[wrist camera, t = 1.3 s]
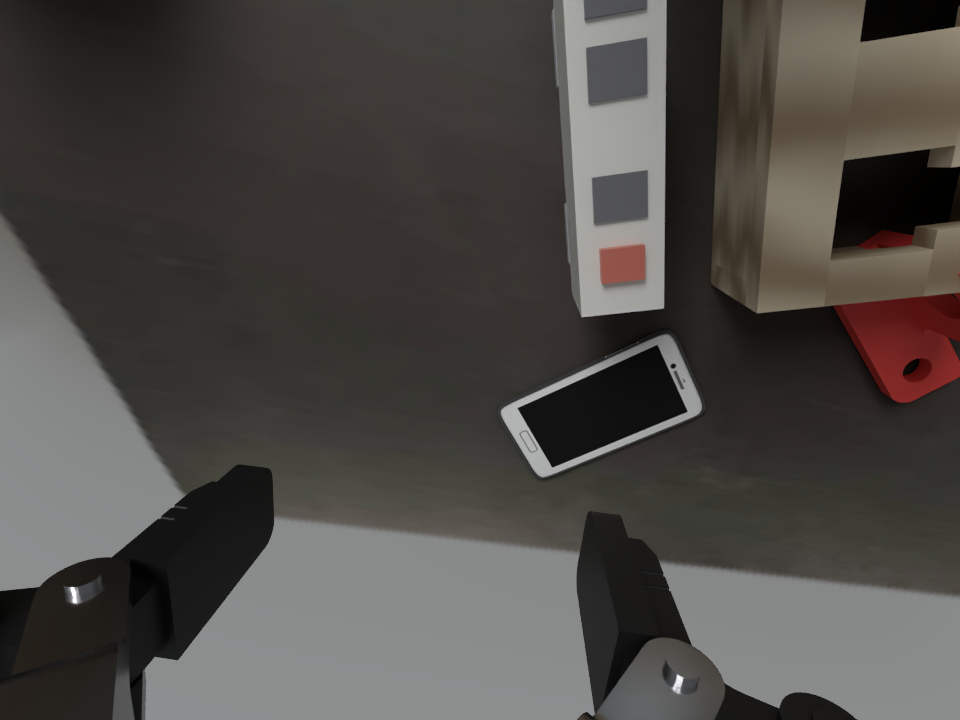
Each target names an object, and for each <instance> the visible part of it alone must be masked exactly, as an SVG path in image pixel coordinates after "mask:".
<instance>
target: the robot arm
mask: <svg viewBox="0 0 960 720" xmlns="http://www.w3.org/2000/svg"><path fill="white" fill-rule="evenodd" d="M273 526H274V506H273V480H272V473H271V470H270V469H268V468H263V467H255V466H247V465H236V466H235V467H234V468H232V469H231V470H230V471H229V472H228V473H227V474H226V475H224V476H223V477H222V478H221V479H220V480H219V481H217V482H213V481H212V482H210V483H208V484H206V485H204V486H202V487H199V488H197V489H195V490H193V491H191V492H190V493H188V494H187V495H186V496H185V497H184V498H182V499H181V500H180V501H179V502H178V503H176V504H175V506H174V508H171V509H169V510H168V511H167V512H166V513H165V514H163V515H162V517H161V519H157V520H156V521H155V522H154V523H153V524H151V525H150V526H149V527H148V528H147V529H145V530H144V531H143V532H142V533H141V534H140V535H138V536H137V537H136V538H135V539H133V540H132V541H131V542H130V543H129V544H127V545H126V546H125V547H124V548H123V549H121V550H120V551H119V552H118V553H117V554H115V555H114V556H113V557H112V558H110V557H106V558H96V559H90V560H86V561H82V562H79V563H76V564H74V565H71V566H69V567H67V568H64V569H63V570H61V571H59V572H57V573H56V574H54V575H53V576H51V577H50V578H48V579H47V580H46V581H45V582H44V583H43V584H42V585H41V586H40V587H37V588H27V589H16V590H7V591H0V720H145V701H146V698H145V697H146V678H145V677H146V676H145V667H146V666H147V665H148V664H149V663H150V662H151V661H152V659H153V658H154V657H161V658H167V659H173V660H178V659H179V658H180V657H181V656H182V654H183V653H184V652H185V650H186V649H187V648H188V646H189V645H190V644H191V643H192V641H193V640H194V639H195V637H196V636H197V635H198V633H199V632H200V631H201V630H202V628H203V627H204V625H205V624H206V623H207V622H208V621H209V619H210V618H211V617H212V615H213V614H214V613H215V612H216V610H217V609H218V608H219V606H220V605H221V604H222V602H223V601H224V600H225V599H226V597H227V596H228V595H229V594H230V592H231V591H232V590H233V588H234V587H235V586H236V584H237V583H238V582H239V581H240V579H241V578H242V577H243V575H244V574H245V573H246V572H247V570H248V569H249V568H250V566H251V565H252V564H253V563H254V561H255V560H256V559H257V557H258V556H259V555H260V553H261V552H262V551H263V550H264V548H265V547H266V545H267V544H268V542H269V540H270V537H271V534H272V531H273ZM577 594H578V600H579V608H580V615H581V622H582V628H583V635H584V642H585V649H586V656H587V663H588V670H589V677H590V683H591V690H592V696H593V704H594V711H595V715H594V716H593V717H592V716H591V715H590V714H589V713H588V712H585V713H583V714H582V715H581V716H580V717H579V718H578V719H577V720H857V719H855V718H854V717H853V716H852V715H851V714H849V713H848V712H847V711H845V710H844V709H842V708H841V707H839V706H838V705H836V704H834V703H833V702H831V701H829V700H826V699H824V698H822V697H819V696H816V695H813V694H809V693H801V692H800V693H792V694H789V695H787V696H786V697H785V698H784V699H783V700H782V703H781V705H780V708H777V707H774V706H772V705H769V704H767V703H765V702H762V701H760V700H757V699H755V698H753V697H750V696H748V695H745V694H743V693H741V692H739V691H737V690H735V689H733V688H731V687H730V686H728V685H726V684H725V683H724V682H723V679H722V676H721V674H720V673H719V671H718V669H717V668H716V667H715V665H714V664H713V663H712V662H711V660H710V659H709V658H708V657H706V656H705V655H704V654H703V653H702V652H700V651H699V650H698V649H696V648H694V647H693V646H692V645H691V642H690V640H689V637H688V635H687V632H686V629H685V627H684V624H683V622H682V619H681V617H680V615H679V612H678V609H677V607H676V604H675V601H674V599H673V597H672V594H671V592H670V591H669V586H668V584H667V581H666V579H665V577H663V571H662V569H661V566H660V563H659V561H658V558H657V556H656V555H655V554H654V553H653V551H652V550H651V549H650V548H649V547H648V546H647V545H646V544H645V543H644V542H643V541H642V540H639V539H632V538H628V536H627V533H626V530H625V527H624V524H623V520H622V518H621V516H620V515H613V514H606V513H598V512H591V511H590V512H589V513H588V515H587V518H586V523H585V528H584V534H583V539H582V544H581V550H580V555H579V560H578V567H577Z"/></svg>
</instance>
